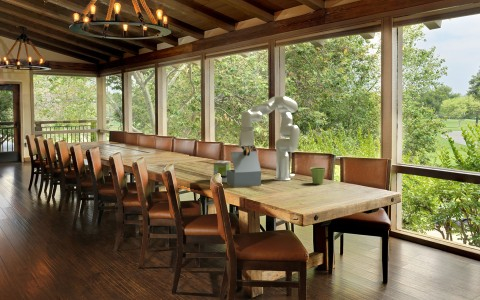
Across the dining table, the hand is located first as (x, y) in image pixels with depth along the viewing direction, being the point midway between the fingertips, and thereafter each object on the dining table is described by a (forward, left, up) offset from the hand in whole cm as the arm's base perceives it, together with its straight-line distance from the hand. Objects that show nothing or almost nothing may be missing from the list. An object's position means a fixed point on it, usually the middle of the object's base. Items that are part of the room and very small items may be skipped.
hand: (246, 155), depth 296 cm
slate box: (0, -5, -22) cm, 22 cm away
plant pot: (-53, +9, -22) cm, 58 cm away
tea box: (+9, -26, -22) cm, 35 cm away
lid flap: (0, -2, -5) cm, 5 cm away
